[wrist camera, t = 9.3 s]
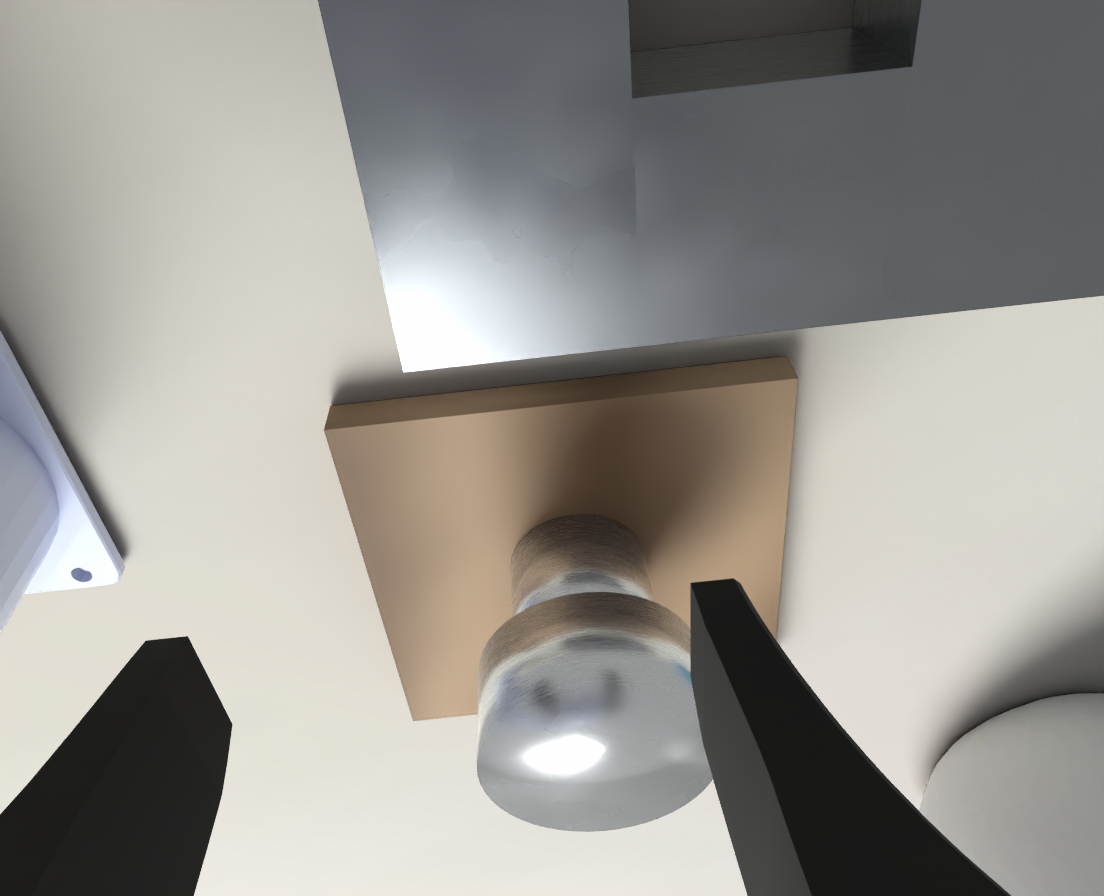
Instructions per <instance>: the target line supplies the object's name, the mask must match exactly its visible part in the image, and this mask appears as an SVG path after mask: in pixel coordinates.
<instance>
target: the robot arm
mask: <svg viewBox="0 0 1104 896" xmlns="http://www.w3.org/2000/svg"><path fill="white" fill-rule="evenodd" d="M80 568H84V569H86V570H88V571H84V570H82V569H80ZM124 568H125V565H124V562H123V560H122V558H121V556H120V554H119V552H118V550H117V548H116V547H115V545H114V543H113V541H112V539H111V537H110V535H109V533H108V532H107V530H106V528H105V526H104V524H103V522H102V520H101V518H100V516H99V515H98V513H97V511H96V509H95V507H94V505H93V503H92V501H91V500H90V498H89V496H88V494H87V492H86V490H85V488H84V486H83V485H82V483H81V481H80V479H79V477H78V475H77V473H76V471H75V469H74V468H73V466H72V464H71V462H70V460H69V458H68V456H67V454H66V453H65V451H64V449H63V447H62V445H61V443H60V441H59V439H58V438H57V436H56V434H55V432H54V430H53V428H52V426H51V424H50V422H49V421H48V419H47V417H46V415H45V413H44V411H43V409H42V407H41V406H40V404H39V402H38V400H37V398H36V396H35V394H34V392H33V391H32V389H31V387H30V385H29V383H28V381H27V379H26V377H25V375H24V374H23V372H22V370H21V368H20V366H19V364H18V362H17V360H16V359H15V357H14V355H13V353H12V351H11V349H10V347H9V345H8V344H7V342H6V340H5V338H4V336H3V334H2V332H1V331H0V634H1V632H2V630H3V629H4V627H5V625H6V624H7V622H8V620H9V618H10V617H11V615H12V613H13V611H14V610H15V608H16V606H17V605H18V603H19V601H20V599H21V598H22V596H23V594H29V593H39V592H48V591H57V590H67V589H76V588H85V587H95V586H104V585H110V584H114V583H116V582H117V581H118V580H120V577H121V575H122V573H123V571H124ZM690 664H691V682H692V687H693V693H694V698H695V704H696V709H697V715H698V720H699V725H700V731H701V736H702V741H703V746H704V749H705V753H706V756H707V760H708V763H709V766H710V770H711V773H712V777H713V780H714V783H715V787H716V790H717V794H718V797H719V801H720V804H721V807H722V811H723V814H724V817H725V821H726V824H727V828H728V831H729V834H730V838H731V841H732V844H733V848H734V851H735V855H736V858H737V861H738V865H739V868H740V871H741V875H742V878H743V882H744V885H745V888H746V892H747V895H748V896H1011V895H1010V894H1009V893H1008V892H1007V891H1005V890H1004V889H1003V888H1002V887H1001V886H1000V885H999V884H997V883H996V882H995V881H994V880H993V879H992V878H991V877H989V876H988V875H987V874H986V873H985V872H984V871H983V870H981V869H980V868H979V867H978V866H977V865H976V864H975V863H973V862H972V861H971V860H970V859H969V858H968V857H967V856H965V855H964V854H963V853H962V852H961V851H960V850H959V849H958V848H957V847H956V846H955V845H953V844H952V843H951V842H950V841H949V840H948V839H947V838H946V837H945V836H944V835H943V834H942V833H941V832H940V831H939V830H938V829H937V828H936V827H935V826H934V825H933V824H932V823H931V822H930V821H929V820H928V819H926V818H925V817H924V816H923V815H922V814H921V813H920V812H919V811H918V810H917V809H916V808H915V806H914V805H913V804H912V803H911V802H910V801H909V800H908V799H907V798H906V797H905V796H904V795H903V794H902V793H901V792H900V791H899V790H898V789H897V788H896V787H895V786H894V785H893V784H892V783H891V782H890V781H889V780H888V779H887V777H886V776H885V775H884V774H883V773H882V772H881V771H880V770H879V769H878V768H877V767H876V765H875V764H874V763H873V762H872V761H871V760H870V759H869V758H868V757H867V756H866V754H865V753H864V752H863V751H862V750H861V749H860V747H859V746H858V745H857V744H856V743H855V742H854V740H853V739H852V738H851V737H850V736H849V735H848V733H847V732H846V731H845V730H844V729H843V728H842V726H841V725H840V724H839V723H838V722H837V720H836V719H835V718H834V717H833V715H832V714H831V713H830V712H829V711H828V709H827V708H826V707H825V706H824V704H823V703H822V702H821V700H820V699H819V698H818V697H817V695H816V694H815V693H814V691H813V690H812V689H811V687H810V686H809V685H808V684H807V682H806V681H805V680H804V678H803V677H802V676H801V674H800V673H799V672H798V671H797V669H796V668H795V666H794V665H793V664H792V662H791V661H790V660H789V658H788V657H787V655H786V654H785V653H784V651H783V650H782V648H781V647H780V645H779V644H778V642H777V641H776V640H775V638H774V637H773V635H772V634H771V632H770V631H769V629H768V628H767V626H766V625H765V623H764V622H763V620H762V619H761V617H760V615H759V614H758V612H757V611H756V609H755V607H754V606H753V604H752V602H751V601H750V599H749V597H748V596H747V594H746V592H745V590H744V589H743V587H742V585H741V583H739V582H738V581H737V580H735V579H734V578H731V579H721V580H712V581H703V582H693V583H690ZM231 730H232V723H231V721H230V719H229V717H228V715H227V713H226V711H225V709H224V707H223V705H222V703H221V701H220V699H219V697H218V695H217V693H216V691H215V689H214V687H213V685H212V683H211V681H210V679H209V677H208V675H207V673H206V671H205V669H204V667H203V666H202V664H201V662H200V660H199V658H198V656H197V654H196V652H195V650H194V648H193V646H192V644H191V642H190V640H189V638H188V636H186V637H177V638H168V639H158V640H149V641H145V642H144V644H143V645H142V646H141V647H140V648H139V650H138V651H137V652H136V653H135V654H134V656H133V657H132V658H131V659H130V660H129V662H128V663H127V664H126V665H125V667H124V668H123V669H122V670H121V671H120V673H119V674H118V675H117V676H116V678H115V679H114V680H113V681H112V683H111V684H110V685H109V686H108V687H107V689H106V690H105V691H104V692H103V694H102V695H101V696H100V697H99V699H98V700H97V701H96V702H95V704H94V705H93V706H92V707H91V709H90V710H89V711H88V712H87V713H86V715H85V716H84V717H83V718H82V720H81V721H80V722H79V723H78V725H77V726H76V727H75V728H74V729H73V731H72V732H71V733H70V734H69V735H68V737H67V738H66V739H65V740H64V741H63V743H62V744H61V745H60V746H59V747H58V749H57V750H56V751H55V752H54V753H53V755H52V756H51V757H50V758H49V759H48V761H47V762H46V763H45V764H44V765H43V767H42V768H41V769H40V770H39V771H38V773H37V774H36V775H35V776H34V777H33V778H32V780H31V781H30V782H29V783H28V784H27V785H26V786H25V788H24V789H23V790H22V791H21V792H20V793H19V794H18V795H17V797H16V798H15V799H14V800H13V801H12V802H11V803H10V804H9V805H8V807H7V808H6V809H5V810H4V811H3V812H2V813H1V814H0V896H194V892H195V889H196V885H197V882H198V878H199V875H200V872H201V868H202V865H203V861H204V858H205V854H206V851H207V847H208V843H209V840H210V836H211V833H212V829H213V825H214V822H215V818H216V815H217V811H218V807H219V803H220V800H221V796H222V791H223V785H224V779H225V773H226V767H227V760H228V753H229V745H230V738H231Z"/></svg>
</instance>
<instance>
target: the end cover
mask: <svg viewBox="0 0 1104 896" xmlns="http://www.w3.org/2000/svg"><path fill="white" fill-rule="evenodd" d="M510 575H511V616H512V618H510V619H509V620H508V621H506V622H505V623H504V624H503V625H502V626H501V627H500V628H499V629H498V630H497V631H496V632H495V633H494V634H493V635H492V637H491V638H490V639H489V640H488V642H487V644H486V646H485V647H484V649H483V651H482V654H481V657H480V661H479V668H478V723H477V773H478V778H479V781H480V784H481V786H482V788H483V789H484V791H485V793H486V794H487V795H488V796H489V798H490V799H491V800H492V801H493V802H494V803H495V804H496V805H498V806H499V807H500V808H501V809H503V810H504V811H506V812H508V813H509V814H511V815H513V816H515V817H517V818H519V819H521V820H524V821H526V822H529V823H532V824H535V825H539V826H543V827H547V828H552V829H558V830H567V831H587V832H589V831H606V830H614V829H621V828H626V827H631V826H635V825H639V824H643V823H646V822H649V821H652V820H655V819H658V818H660V817H663V816H665V815H667V814H669V813H672V812H674V811H675V810H677V809H679V808H681V807H682V806H684V805H686V804H687V803H689V802H690V801H691V800H693V799H694V798H695V797H697V796H698V795H699V794H700V793H701V792H702V791H703V790H704V789H705V788H706V787H707V786H708V785H709V784H710V782H711V781H712V779H713V777H712V773H711V770H710V766H709V763H708V760H707V756H706V753H705V749H704V746H703V741H702V736H701V731H700V725H699V720H698V715H697V709H696V704H695V698H694V693H693V687H692V682H691V664H690V628H689V626H688V625H687V624H686V623H685V622H684V621H683V620H682V619H681V618H680V617H679V616H678V615H676V614H675V613H673V612H672V611H671V610H669V609H667V608H666V607H664V606H662V605H660V604H658V603H656V602H655V601H654V596H653V591H652V586H651V581H650V576H649V571H648V566H647V561H646V556H645V552H644V548H643V546H642V543H641V541H640V540H639V538H638V537H637V536H636V535H635V533H634V532H633V531H632V530H630V529H629V528H628V527H626V526H625V525H623V524H622V523H620V522H618V521H616V520H613V519H611V518H607V517H604V516H599V515H594V514H572V515H565V516H561V517H557V518H554V519H551V520H548V521H546V522H544V523H542V524H540V525H538V526H536V527H535V528H533V529H532V530H531V531H529V532H528V533H527V534H526V535H525V536H524V537H523V538H522V539H521V540H520V541H519V543H518V544H517V546H516V547H515V549H514V551H513V554H512V557H511V563H510Z"/></svg>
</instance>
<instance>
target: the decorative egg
mask: <svg viewBox="0 0 1104 896" xmlns="http://www.w3.org/2000/svg"><path fill="white" fill-rule="evenodd" d="M919 812H920V813H921V814H922V815H923V816H924V817H925V818H926V819H928V820H929V821H930V822H931V823H932V824H933V825H934V826H935V827H936V828H937V829H938V830H939V831H940V832H941V833H942V834H943V835H944V836H945V837H946V838H947V839H948V840H949V841H950V842H951V843H952V844H953V845H955V846H956V847H957V848H958V849H959V850H960V851H961V852H962V853H963V854H964V855H965V856H967V857H968V858H969V859H970V860H971V861H972V862H973V863H975V864H976V865H977V866H978V867H979V868H980V869H981V870H983V871H984V872H985V873H986V874H987V875H988V876H989V877H991V878H992V879H993V880H994V881H995V882H996V883H997V884H999V885H1000V886H1001V887H1002V888H1003V889H1004V890H1005V891H1007V892H1008V893H1009V894H1010V895H1011V896H1104V693H1083V694H1069V695H1062V696H1054V697H1049V698H1045V699H1041V700H1037V701H1034V702H1031V703H1028V704H1026V705H1023V706H1020V707H1017V708H1014V709H1011V710H1009V711H1006V712H1004V713H1002V714H1000V715H997V716H995V717H993V718H991V719H989V720H987V721H985V722H984V723H982V724H980V725H979V726H977V727H976V728H974V729H973V730H971V731H969V732H968V733H966V734H965V735H963V736H962V737H961V738H960V739H959V740H958V741H957V742H955V743H954V744H953V745H952V746H951V747H950V749H949V750H948V751H947V752H946V753H945V755H944V756H943V757H942V758H941V759H940V761H939V762H938V763H937V765H936V766H935V768H934V770H933V772H932V774H931V776H930V779H929V781H928V784H927V787H926V789H925V792H924V796H923V799H922V803H921V806H920V810H919Z"/></svg>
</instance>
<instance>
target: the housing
mask: <svg viewBox="0 0 1104 896" xmlns="http://www.w3.org/2000/svg"><path fill="white" fill-rule="evenodd" d="M318 3H319V7H320V11H321V16H322V20H323V24H324V29H325V33H326V37H327V42H328V46H329V50H330V55H331V59H332V64H333V68H334V72H335V77H336V81H337V85H338V90H339V94H340V98H341V103H342V107H343V112H344V116H345V120H346V125H347V129H348V133H349V138H350V142H351V146H352V151H353V155H354V160H355V164H356V168H357V173H358V177H359V181H360V186H361V190H362V194H363V199H364V203H365V207H366V212H367V216H368V221H369V225H370V229H371V234H372V238H373V242H374V247H375V251H376V255H377V260H378V264H379V269H380V273H381V277H382V282H383V286H384V290H385V295H386V299H387V303H388V308H389V312H390V316H391V321H392V325H393V330H394V334H395V338H396V343H397V347H398V351H399V356H400V360H401V364H402V369H403V372H413V371H422V370H431V369H440V368H449V367H458V366H467V365H476V364H485V363H494V362H503V361H513V360H522V359H531V358H540V357H549V356H558V355H567V354H576V353H585V352H594V351H603V350H613V349H622V348H631V347H640V346H649V345H658V344H667V343H676V342H685V341H694V340H704V339H713V338H722V337H731V336H740V335H749V334H758V333H767V332H776V331H785V330H794V329H804V328H813V327H822V326H831V325H840V324H849V323H858V322H867V321H876V320H885V319H894V318H904V317H913V316H922V315H931V314H940V313H949V312H958V311H967V310H976V309H985V308H994V307H1004V306H1013V305H1022V304H1031V303H1040V302H1049V301H1058V300H1067V299H1076V298H1085V297H1095V296H1104V0H855V7H854V17H853V27H849V28H840V29H831V30H822V31H813V32H805V33H796V34H787V35H778V36H770V37H761V38H752V39H743V40H735V41H726V42H717V43H708V44H700V45H691V46H682V47H673V48H665V49H656V50H647V51H638V52H630V33H629V8H628V0H318Z"/></svg>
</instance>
